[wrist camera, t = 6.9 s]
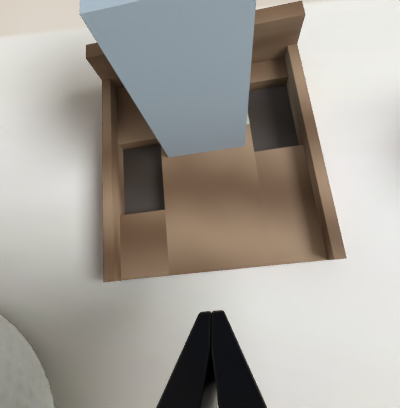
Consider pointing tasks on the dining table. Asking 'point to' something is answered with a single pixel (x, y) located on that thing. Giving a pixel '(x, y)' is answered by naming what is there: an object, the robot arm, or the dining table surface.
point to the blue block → (181, 66)
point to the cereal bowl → (21, 372)
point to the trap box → (220, 176)
